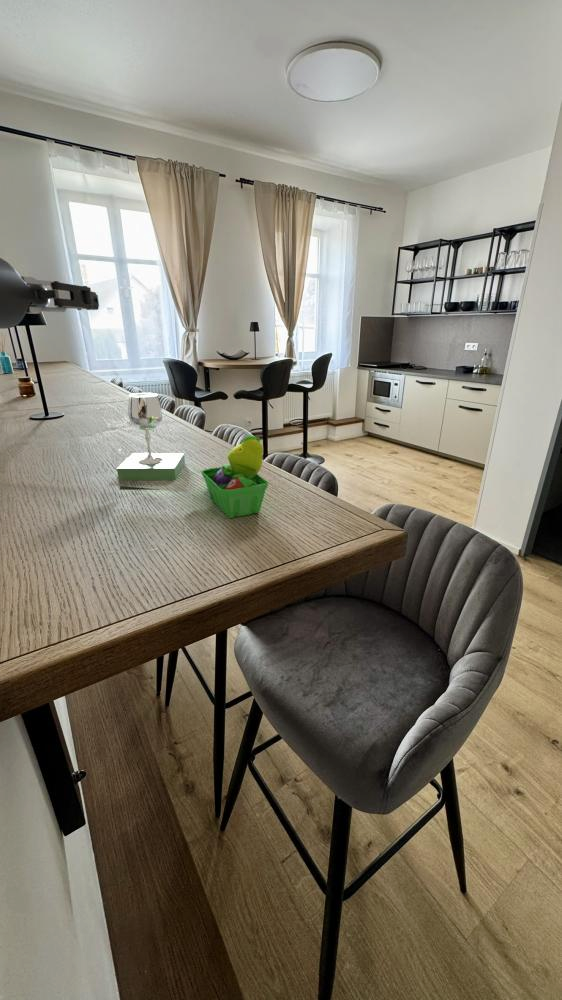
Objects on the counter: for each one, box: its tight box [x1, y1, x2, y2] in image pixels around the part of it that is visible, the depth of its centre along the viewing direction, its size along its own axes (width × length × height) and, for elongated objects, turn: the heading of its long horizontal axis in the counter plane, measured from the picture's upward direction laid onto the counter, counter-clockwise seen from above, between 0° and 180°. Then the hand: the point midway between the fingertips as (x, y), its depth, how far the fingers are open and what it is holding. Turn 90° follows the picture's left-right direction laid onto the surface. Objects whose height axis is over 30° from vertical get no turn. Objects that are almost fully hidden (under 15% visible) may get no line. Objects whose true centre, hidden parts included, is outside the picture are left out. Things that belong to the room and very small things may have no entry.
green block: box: [116, 452, 186, 491], centre depth 77 cm, size 10×10×4 cm
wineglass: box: [127, 392, 163, 464], centre depth 74 cm, size 6×6×12 cm
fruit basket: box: [200, 435, 269, 519], centre depth 65 cm, size 11×9×11 cm
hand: (68, 301), depth 58 cm, fingers open, 8 cm apart
